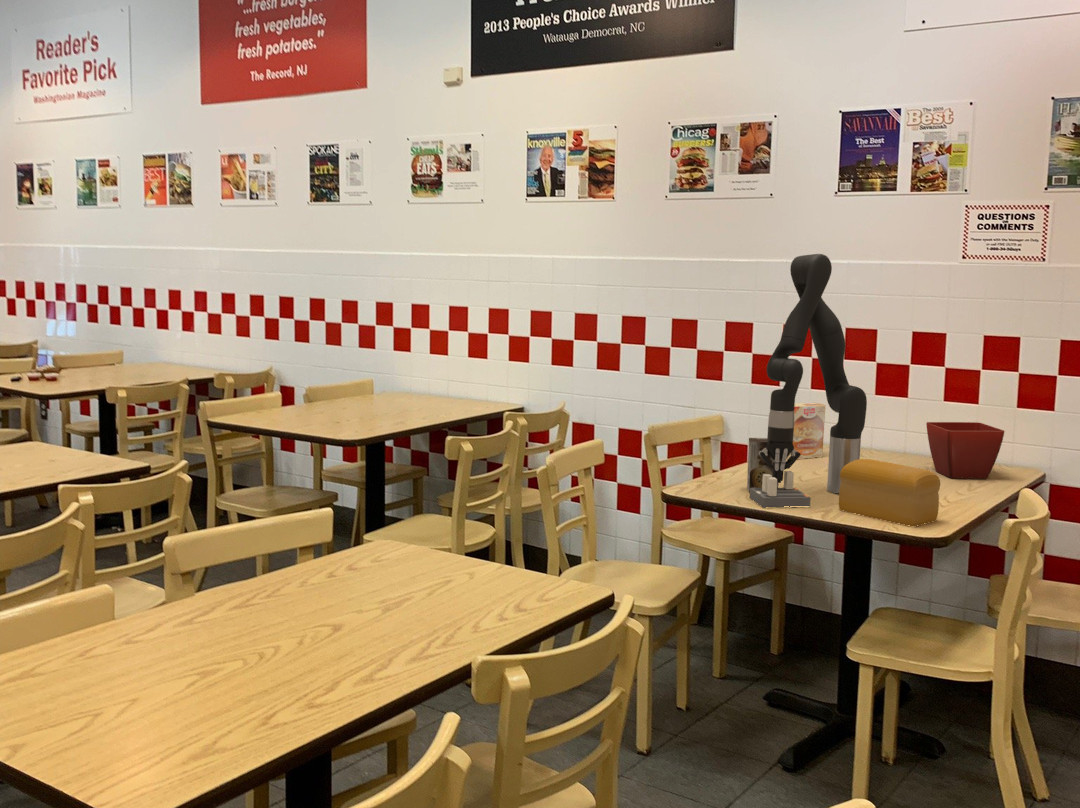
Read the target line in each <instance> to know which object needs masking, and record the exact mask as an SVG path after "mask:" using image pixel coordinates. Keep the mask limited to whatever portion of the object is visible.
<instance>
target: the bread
mask: <svg viewBox="0 0 1080 808" xmlns="http://www.w3.org/2000/svg"><path fill="white" fill-rule="evenodd" d="M939 477H940V476H938V475H937V474H936V473H935V472H933V471H931V470H928V469H926V468H925V469H924V468H920V467H916V466H910V465H909V466H908V465H904V464H898V463H893V462H887V461H881V460H877V459H876V460H875V459H870V458H869V459H868V458H860V459H857V460H854V461H852V462H850V463H848V464H847V465H845V466H844V467H843V468H842V470H841V473H840V480H841V484H840V490H839V494H838V508H839V510H840V509H841V510H844V511H843V512H845V511H847V512H846V513H849V512H851V513H850V514H853V513H856V514H855V515H858V514H860V515H859V516H862V515H864V516H863V517H867V516H868V518H871V517H873V518H872V519H875V518H877V520H880V519H882V520H881V521H884V520H886V522H888V521H891V522H890V523H893V522H895V523H894V524H897V523H900V524H899V525H901V524H905V525H904V526H906V525H910V526H909V527H911V526H917V525H920V526H922V525H921V524H924V523H927V524H929V523H928V522H931V523H933V522H932V521H935V520H936V521H937V519H938V516H939V515H938V514H939V510H940V509H939V507H940V506H939V505H940V495H939V491H940V488H941V480H940V478H939ZM841 510H840V511H841ZM936 521H935V522H936ZM924 525H925V524H924ZM917 527H918V526H917Z"/></svg>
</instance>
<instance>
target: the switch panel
mask: <svg viewBox="0 0 1080 808" xmlns="http://www.w3.org/2000/svg"><path fill="white" fill-rule="evenodd" d="M749 499H751V500H752V501H753V500H754V501H753V502H754V503H756V504H757V503H758V504H757V505H758V506H760V505H761V506H762V507H761V506H760V507H761V508H762V509H767V508H766V507H784V506H789V507H790V506H810V507H811V499H812V498H811V496H809V495H808V494H806V493H804V492H803V491H801V490H800V489H798V488H797V487H793V489H785V488H784V487H778V488H777V495H776V496H769V495H767V493H764V492H763V491H762V488H750V492H749Z"/></svg>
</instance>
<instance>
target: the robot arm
mask: <svg viewBox="0 0 1080 808" xmlns="http://www.w3.org/2000/svg"><path fill="white" fill-rule="evenodd" d="M831 276H832V262H831V259H830V258H829V257H828V255H826V254H824V253H815V254H804V255H799V256H795V257H794V259H792V261H791V264H790V277H791V279H792V283H793V286H794V288H795V290H796V293H797V294H798V297H799V301H798V302H797V304H796V305H795V306H794V308H793V309H792V310H791V311H790V313H789V314H788V316H787V318H786V321H785V323H784V326H783V330H782V333H781V335H780V336H781V337H780V340H779V342H778V344H777V346H776V348H775V349H774V351H773V352H772V354H771V356H770V358H769V359H768V363H767V365H766V374H767V377H768V378H769V380H771V381H773V382H781V383H782V382H783V383H784V385H783V388H782V389H774V390H773V391H771V393H770V403H769V405H770V406H769V412H768V422H767V437H766V438H767V444H766V445H765V448H764V449H763V450H762V451H758V454H759V456H760V457H761V458H762V460H763V461H764V463H765V464H766V466H767V467H769V468H770V469H773V475H772V477H775V478H776V479H777V483H778V484H781V483H782V482H783V481H784V471H786V470H789V469H790V468H791V467H792V466H793V465H794V464H795V463H796V462H797V460H799V459H798V458H799V457H800V455H801V454H800V453H799V452H797V451H796V450H795V449H794V445H793V435H794V425H795V422H794V419H795V418H794V406H795V403H796V396H797V393H798V391H799V387H800V384H801V381H802V378H803V375H804V367H803V364H802V363H801V361H800V360H798V359H796V358H790V356H791V355H794V354H798V353H799V354H800V353H801V352H802V351H803V350H804V348H805V347H804V346H805V342H806V339H807V336H808V332H809V331H810V336H811V339H812V344H813V347H814V350H815V352H816V357H817V360H818V364H819V367H820V370H821V374H822V380H823V384H824V390H825V395H826V401H827V404H828V407H829V408H830V409H831V410H832V411H833V412H834V413H837V414H838V417H837V422H836V424H834V425H832V426H831V427H830V430H829V431H830V432H829V447H828V449H829V450H828V451H829V452H828V464H827V465H828V466H827V479H826V480H827V482H826V490H827V492H829V491H830V492H829V493H832V494H838V493H839V490H840V484H841V480H840V473H841V470H842V468H843V467H844V466H845V465H847V464H848V463H850V462H852V461H854V460H857V459H861V444H862V433H863V430H864V428H865V423H866V416H867V405H868V403H867V399H868V398H867V395H866V392H865V391H864V390H863V389H862V388H861V387H859V386H856V385H855V386H854V385H852V384H850V383H849V381H848V378H847V375H846V372H845V368H844V360H845V359H844V358H845V353H846V339H845V334H844V332H843V328H842V325H841V324H842V323H841V322H840V320H839V318H838V317H837V315H836V314H835V313H834V312H833V310H832V309H831V308H830V306H828V305H827V303H826V301H824V299H823V297H822V296H823V293H825V290H826V288H827V285H828V283H829V281H830V278H831ZM767 452H768V453H769V455H770V456H771V457H772V463H771V462H770V461H769V459H768V458H767V455H768V454H767ZM790 453H791V456H790V458H789V459H786V458H787V457H788V456H789V455H790Z"/></svg>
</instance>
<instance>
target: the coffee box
mask: <svg viewBox="0 0 1080 808" xmlns="http://www.w3.org/2000/svg"><path fill="white" fill-rule="evenodd" d="M766 444H767V437H766V438H765V437H749V438H748V450H747V452H748V453H747V454H748V456H747V479H746V480H747V481H746V483H747V484H746V489H747V488H748V489H747V492H748V491H750V488H762V480H763V474H770V475H771V476H772V475H773V469H770V468H769V467H767V466H766V464H765V463H764V461H763V460H762V458H761V457H760V456H759V454H758V451H762V450H763V449H764V448H765V445H766ZM767 454H768V455H767V458H768V459H769V461H770V462H771V463H772V457H771V456H770V455H769V453H768V452H767ZM777 488H779V483H777Z"/></svg>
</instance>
